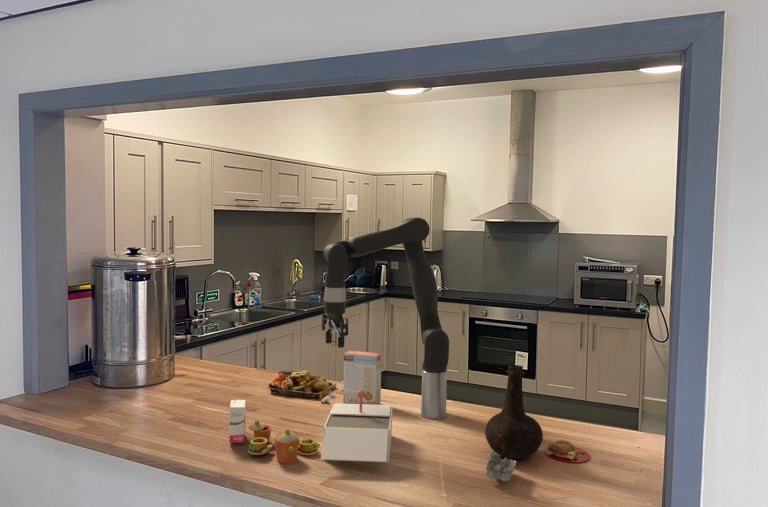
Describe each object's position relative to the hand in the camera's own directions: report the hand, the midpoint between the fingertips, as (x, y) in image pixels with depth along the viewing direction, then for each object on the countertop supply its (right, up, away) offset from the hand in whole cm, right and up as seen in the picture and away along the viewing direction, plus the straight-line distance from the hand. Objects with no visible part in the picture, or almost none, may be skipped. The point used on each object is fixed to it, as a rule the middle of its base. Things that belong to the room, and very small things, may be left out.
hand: (334, 345), depth 198 cm
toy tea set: (-16, -30, -23) cm, 41 cm away
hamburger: (+76, -32, -20) cm, 85 cm away
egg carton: (+48, -32, -38) cm, 69 cm away
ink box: (-31, -29, -14) cm, 44 cm away
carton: (+9, -30, -23) cm, 39 cm away
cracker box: (+9, -28, +24) cm, 38 cm away
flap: (+10, -19, -14) cm, 26 cm away
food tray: (-18, -27, +40) cm, 52 cm away
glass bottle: (+58, -31, -22) cm, 70 cm away
